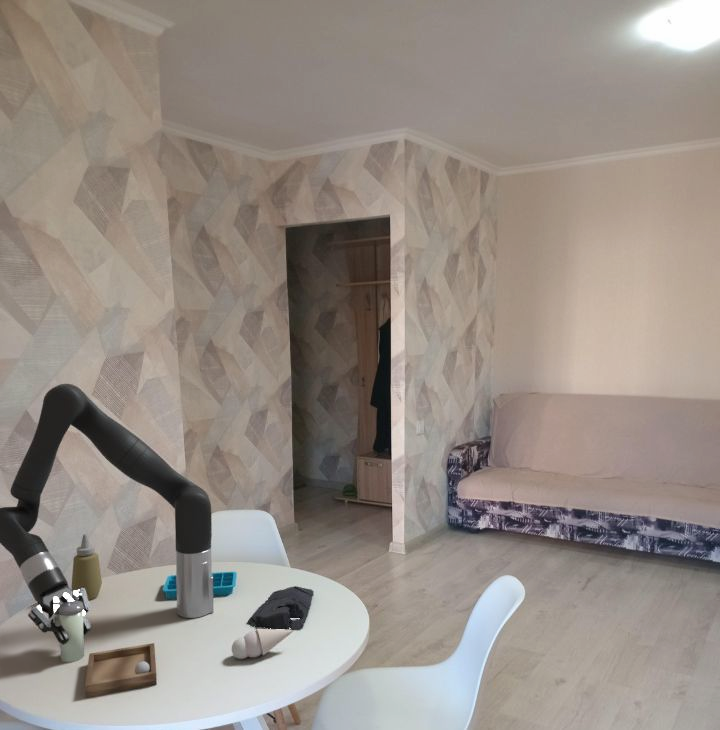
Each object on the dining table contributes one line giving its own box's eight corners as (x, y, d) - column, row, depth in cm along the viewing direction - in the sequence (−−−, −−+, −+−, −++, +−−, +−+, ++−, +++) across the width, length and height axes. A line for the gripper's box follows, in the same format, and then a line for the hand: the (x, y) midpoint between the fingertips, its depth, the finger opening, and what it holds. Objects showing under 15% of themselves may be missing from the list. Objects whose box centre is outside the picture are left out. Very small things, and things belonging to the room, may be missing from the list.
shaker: (85, 649, 151) (83, 599, 150) (83, 660, 146) (82, 608, 145) (61, 653, 149) (59, 602, 148) (59, 664, 144) (57, 611, 144)
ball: (149, 671, 139) (149, 657, 139) (149, 678, 136) (149, 664, 136) (135, 673, 138) (134, 660, 138) (135, 680, 135) (134, 667, 135)
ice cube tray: (168, 585, 190) (168, 575, 190) (237, 580, 193) (236, 571, 193) (162, 601, 178) (161, 591, 178) (235, 596, 181) (235, 586, 181)
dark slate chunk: (322, 597, 180) (322, 581, 180) (300, 634, 159) (300, 615, 159) (271, 594, 183) (270, 577, 183) (242, 629, 162) (242, 611, 162)
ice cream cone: (298, 648, 151) (235, 669, 146) (290, 624, 155) (229, 644, 150) (298, 636, 147) (234, 658, 142) (291, 612, 151) (228, 633, 146)
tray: (154, 653, 149) (154, 643, 149) (156, 684, 136) (156, 673, 136) (89, 664, 144) (89, 653, 144) (85, 697, 131) (85, 685, 131)
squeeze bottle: (91, 604, 176) (89, 540, 175) (65, 602, 178) (63, 538, 177) (108, 592, 184) (106, 531, 183) (83, 590, 186) (81, 529, 185)
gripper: (20, 577, 144) (55, 642, 139) (76, 557, 156) (110, 616, 151) (7, 595, 147) (41, 659, 142) (63, 575, 159) (96, 633, 154)
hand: (77, 636), depth 146 cm, fingers closed on shaker, 5 cm apart
